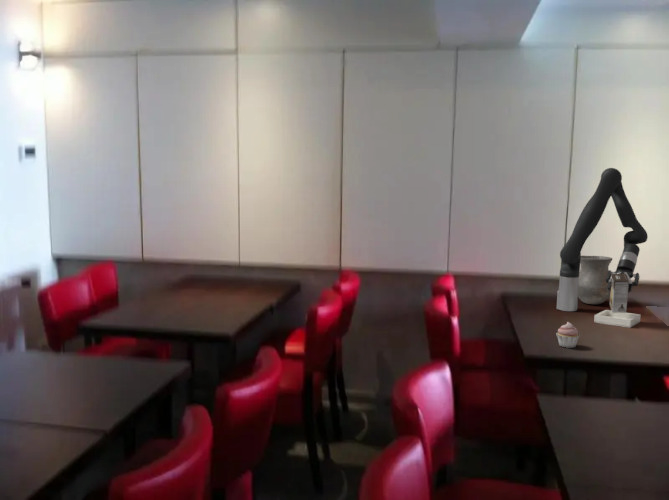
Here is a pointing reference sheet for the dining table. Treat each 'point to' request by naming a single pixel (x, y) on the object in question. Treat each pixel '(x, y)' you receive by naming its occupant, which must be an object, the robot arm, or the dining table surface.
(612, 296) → the coffee box
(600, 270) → the vase
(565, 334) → the cupcake
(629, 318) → the dish
